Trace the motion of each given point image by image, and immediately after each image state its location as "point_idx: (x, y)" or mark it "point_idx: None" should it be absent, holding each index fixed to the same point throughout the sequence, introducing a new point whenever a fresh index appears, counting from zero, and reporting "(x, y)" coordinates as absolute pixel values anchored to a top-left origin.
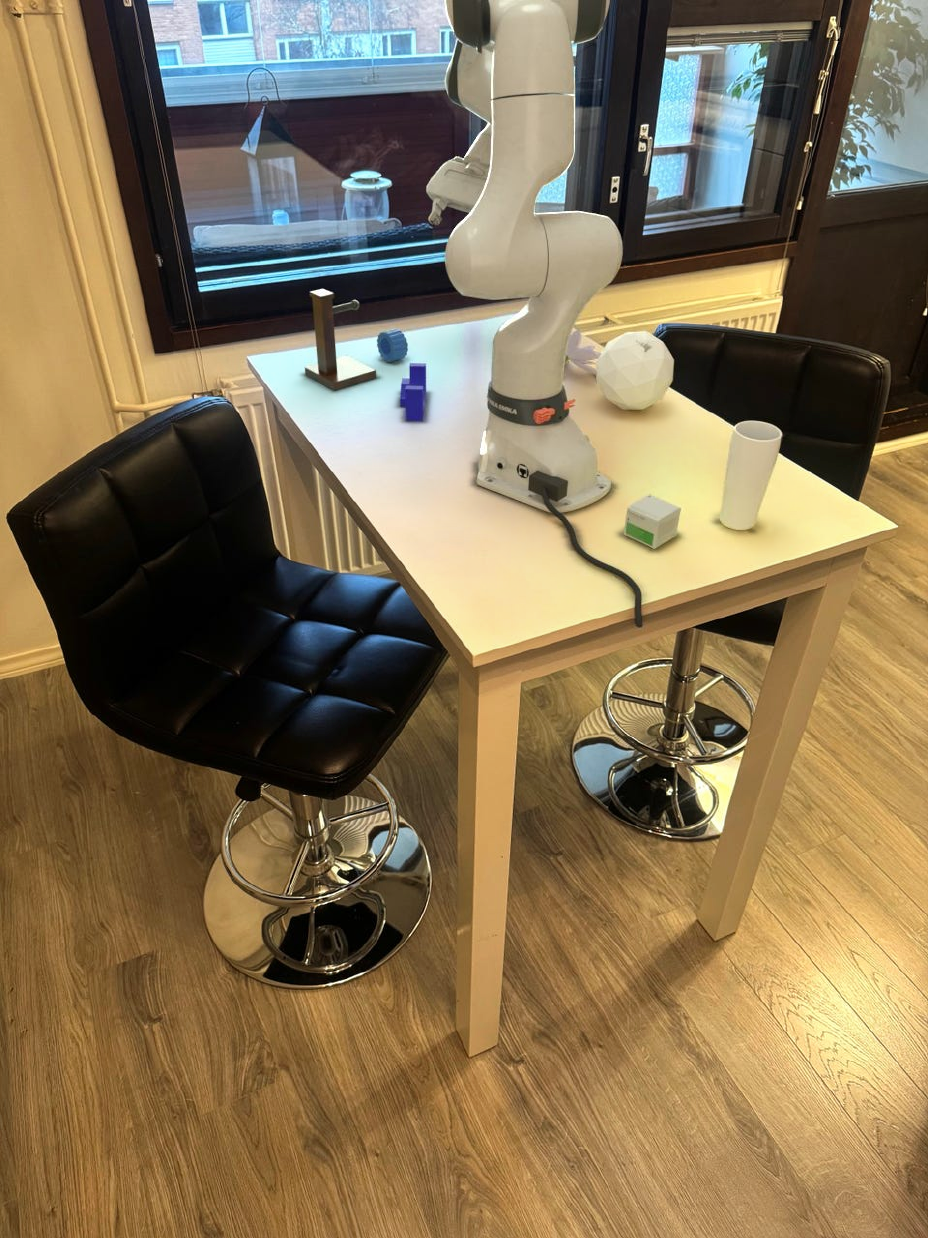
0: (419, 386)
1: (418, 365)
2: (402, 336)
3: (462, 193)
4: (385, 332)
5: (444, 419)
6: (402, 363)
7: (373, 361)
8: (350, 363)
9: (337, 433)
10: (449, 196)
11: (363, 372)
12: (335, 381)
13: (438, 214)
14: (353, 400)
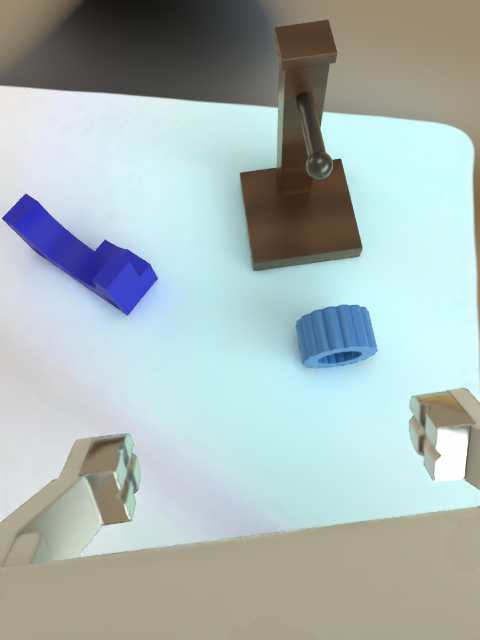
0: (17, 220)
1: (106, 270)
2: (316, 347)
3: (275, 604)
4: (339, 308)
5: (15, 286)
6: (297, 355)
7: None
8: (314, 236)
9: (89, 126)
10: (428, 519)
11: (255, 237)
12: (244, 177)
13: (434, 443)
14: (184, 193)
